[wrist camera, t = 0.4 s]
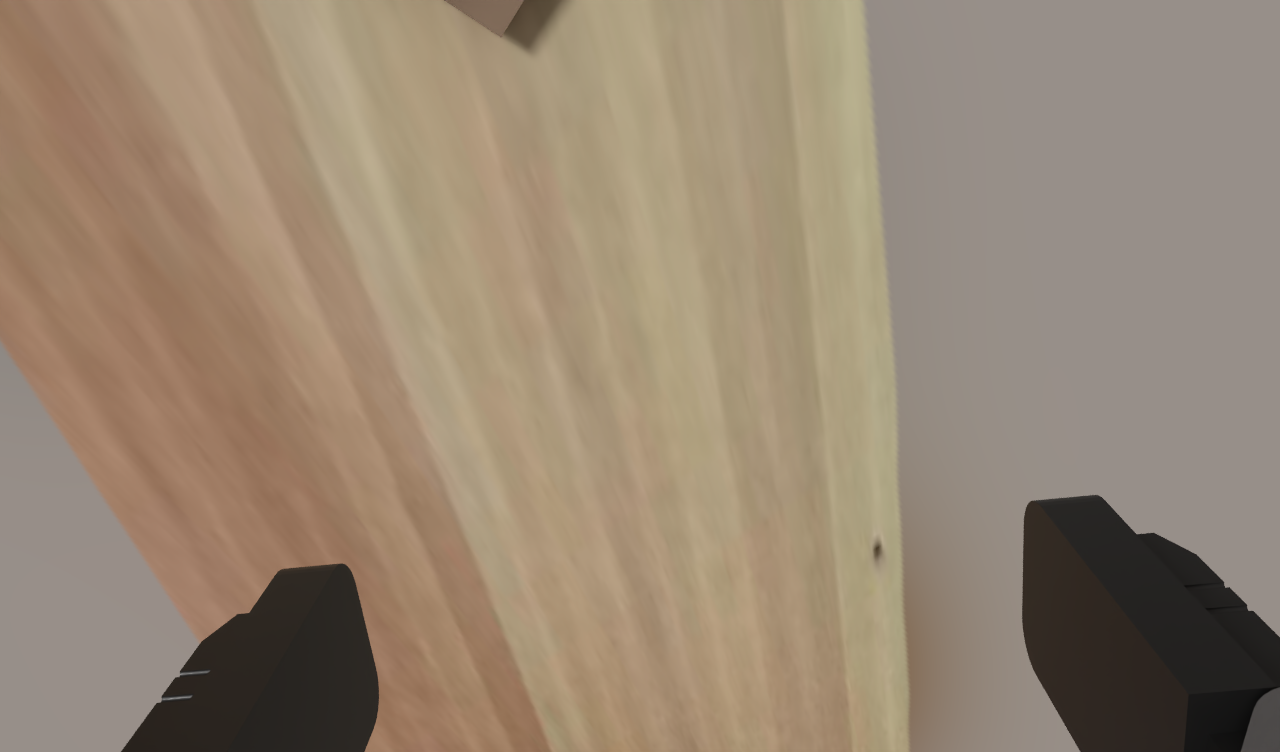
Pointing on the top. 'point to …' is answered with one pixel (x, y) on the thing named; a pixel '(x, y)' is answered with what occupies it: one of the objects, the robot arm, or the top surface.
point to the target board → (489, 12)
